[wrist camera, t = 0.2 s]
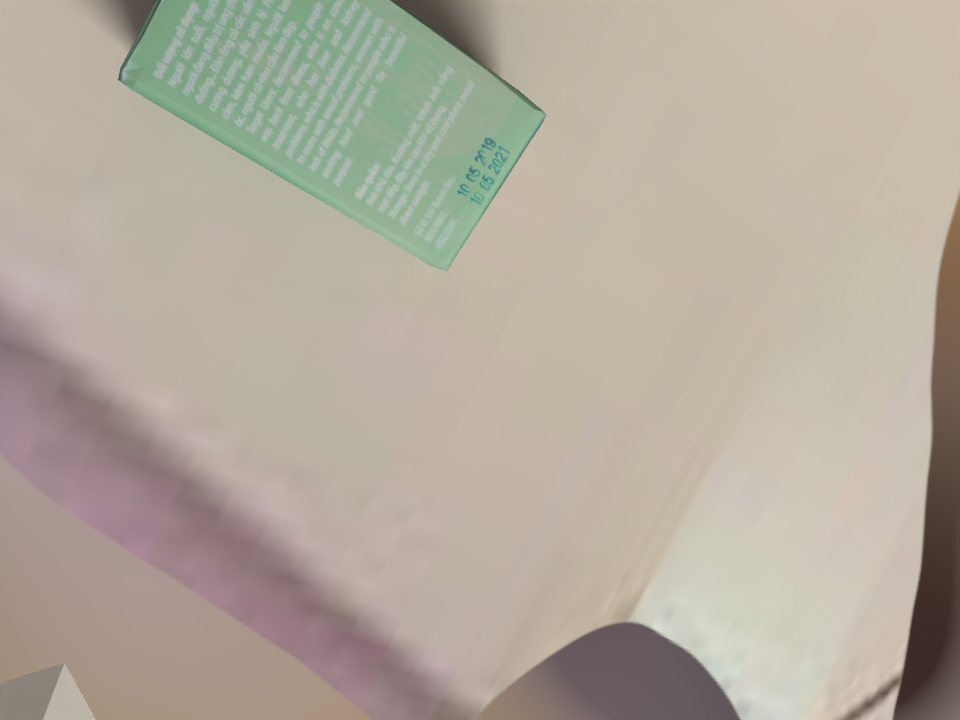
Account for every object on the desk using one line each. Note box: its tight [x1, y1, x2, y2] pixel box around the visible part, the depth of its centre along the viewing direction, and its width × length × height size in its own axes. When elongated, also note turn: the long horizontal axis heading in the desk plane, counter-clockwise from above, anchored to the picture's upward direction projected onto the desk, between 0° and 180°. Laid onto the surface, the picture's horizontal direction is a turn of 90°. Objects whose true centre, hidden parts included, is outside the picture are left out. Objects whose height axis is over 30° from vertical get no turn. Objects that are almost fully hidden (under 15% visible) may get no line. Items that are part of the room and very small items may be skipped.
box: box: [118, 0, 547, 271], centre depth 31 cm, size 7×14×8 cm, turn 57°
